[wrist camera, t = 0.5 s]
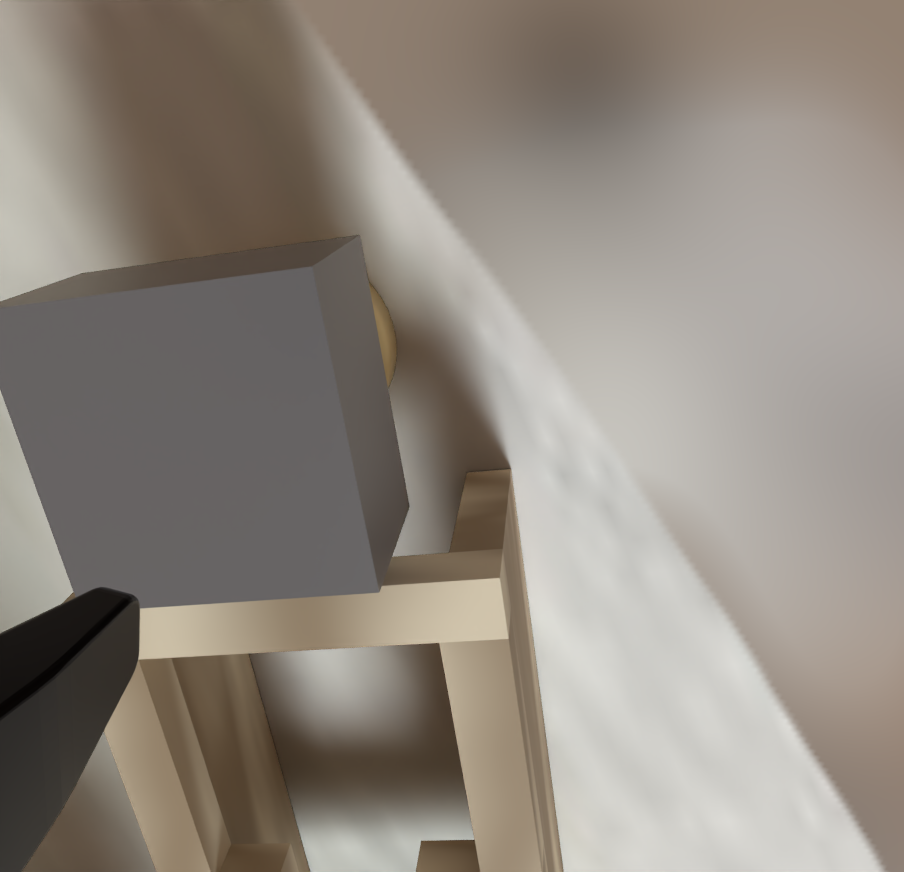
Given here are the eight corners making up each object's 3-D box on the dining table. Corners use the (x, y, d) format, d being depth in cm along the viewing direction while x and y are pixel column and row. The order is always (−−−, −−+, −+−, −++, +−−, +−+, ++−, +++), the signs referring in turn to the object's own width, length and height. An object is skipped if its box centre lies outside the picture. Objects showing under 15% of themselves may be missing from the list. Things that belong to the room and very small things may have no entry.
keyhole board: (285, 900, 29) (230, 1068, 24) (164, 499, 23) (58, 608, 18) (567, 899, 27) (571, 1078, 22) (510, 468, 22) (500, 578, 17)
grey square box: (222, 461, 23) (80, 612, 16) (164, 244, 20) (-28, 311, 14) (432, 440, 22) (379, 592, 15) (394, 212, 20) (312, 266, 13)
